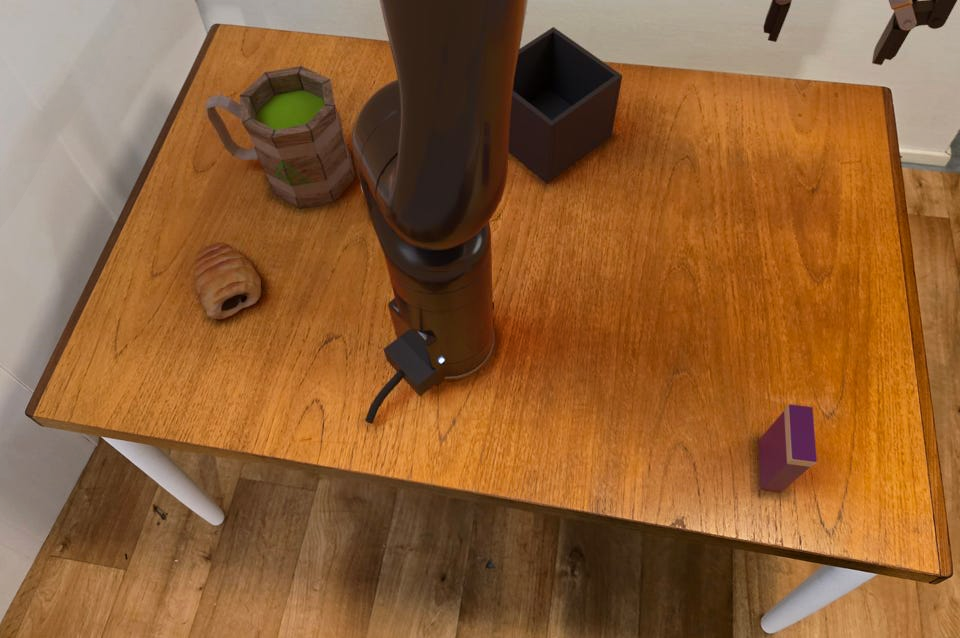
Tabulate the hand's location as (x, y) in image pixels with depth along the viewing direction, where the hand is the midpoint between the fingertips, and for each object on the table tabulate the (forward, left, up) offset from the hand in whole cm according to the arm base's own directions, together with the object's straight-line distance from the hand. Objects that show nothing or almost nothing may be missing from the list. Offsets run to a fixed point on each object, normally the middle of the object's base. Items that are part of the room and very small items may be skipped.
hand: (824, 46), depth 62 cm
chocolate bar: (-20, -20, -26) cm, 38 cm away
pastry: (-48, +33, -26) cm, 64 cm away
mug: (-33, +42, -26) cm, 60 cm away
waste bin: (-6, +25, -26) cm, 37 cm away
